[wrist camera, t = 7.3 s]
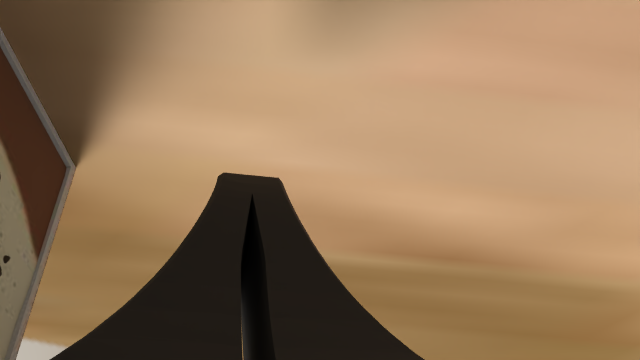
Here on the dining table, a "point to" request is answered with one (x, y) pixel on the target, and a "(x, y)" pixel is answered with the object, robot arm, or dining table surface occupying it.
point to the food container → (25, 196)
